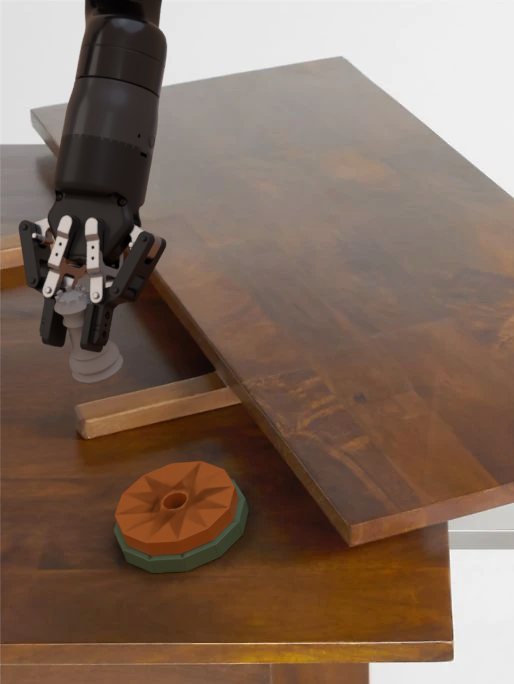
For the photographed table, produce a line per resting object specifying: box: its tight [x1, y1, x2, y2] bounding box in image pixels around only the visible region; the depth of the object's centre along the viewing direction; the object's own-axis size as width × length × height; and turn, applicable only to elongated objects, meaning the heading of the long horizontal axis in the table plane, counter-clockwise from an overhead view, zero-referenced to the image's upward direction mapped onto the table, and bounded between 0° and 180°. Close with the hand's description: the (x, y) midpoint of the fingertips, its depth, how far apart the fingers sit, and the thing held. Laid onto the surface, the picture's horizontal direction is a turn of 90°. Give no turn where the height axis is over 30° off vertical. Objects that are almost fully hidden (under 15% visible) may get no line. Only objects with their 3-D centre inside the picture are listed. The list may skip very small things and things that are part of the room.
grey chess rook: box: [54, 283, 124, 386], centre depth 115 cm, size 4×4×8 cm
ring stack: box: [112, 460, 250, 574], centre depth 117 cm, size 11×11×3 cm
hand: (71, 347), depth 114 cm, fingers closed on grey chess rook, 3 cm apart
